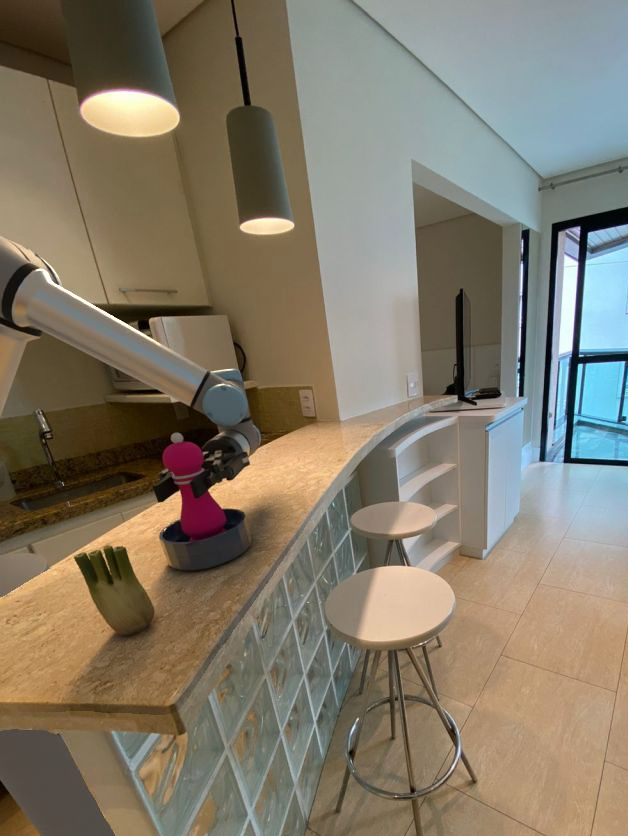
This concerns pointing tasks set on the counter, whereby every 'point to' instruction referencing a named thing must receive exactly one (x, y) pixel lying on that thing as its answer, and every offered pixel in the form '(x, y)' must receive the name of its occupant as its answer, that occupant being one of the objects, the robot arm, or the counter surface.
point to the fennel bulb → (116, 589)
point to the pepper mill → (196, 513)
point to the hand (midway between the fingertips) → (176, 492)
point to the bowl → (206, 544)
